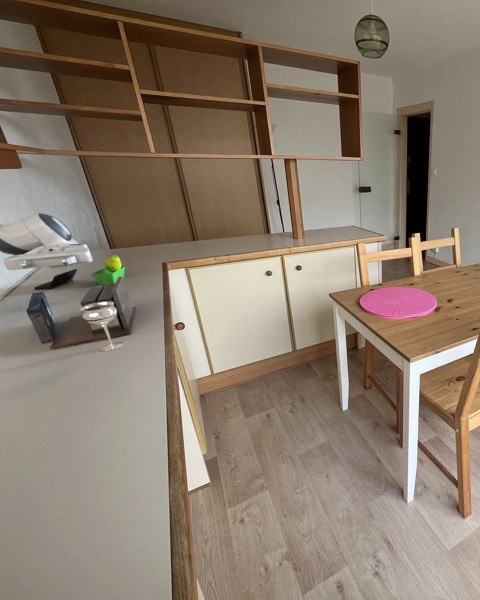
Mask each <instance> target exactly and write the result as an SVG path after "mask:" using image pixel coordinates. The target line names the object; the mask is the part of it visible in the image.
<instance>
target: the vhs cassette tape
mask: <svg viewBox="0 0 480 600" xmlns="http://www.w3.org/2000/svg"><path fill="white" fill-rule="evenodd" d="M26 314H27V316H28V318H29V320H30V322H31V324H32V327H33V328H34V331H35V333H36V335H37V337H38V339H39V341H40V344H46V343H50V342H54V341H55V335H56V328H57V327H56V326H57V318H56V317H55V314H54V313H53V310H52V308H51V306H50V303H49V301H48V299H47V295H46V294H45V292H44V291H38V292H33V293H32V294H31V296H30V299H29V301H28V307H27V309H26Z"/></svg>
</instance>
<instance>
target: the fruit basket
mask: <svg viewBox="0 0 480 600" xmlns="http://www.w3.org/2000/svg"><path fill="white" fill-rule="evenodd" d="M103 266H104V267H103V268H101V269H98V270H97V271H95V272H93V273H91V276H92V277H93V278H94V279H95V281H96V282H97V283H98V285H104V286H106V284H114V283H116V281H117V279H118V277H121V276H122V277H123V279H125V269H126V267H125V266H122V262H121V258H120V257H119V256H118V255H116V254H115V255H113V254H112V255H111V256H110V257H109V258H108V259H106V260H105V261H104V263H103Z"/></svg>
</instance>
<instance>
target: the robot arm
mask: <svg viewBox="0 0 480 600" xmlns="http://www.w3.org/2000/svg"><path fill="white" fill-rule="evenodd" d="M36 249H37V251H36V252H33V253H30V252H31V251H33V250H36ZM0 252H1V253H3V254H6V255H10V256H8V257H5V258H3V259H2V260H3V264H4V266H5V268H6V269H7V270H9V271H16V270H27V269H35V268H36V269H37V268H45V267H48V268H51V269H64V268H67V267H71V266H74V265H80V264H87V263H93V261H94V258H93V255H92V253H91V251H90V248H89V247H88V245H87V244H86V243H79V242H78V241H77V240H76V239H74V238H73V236H72V232H71V231H70V229H69V228H68V227H67V226H66V225H65V223H64V222H62V221H61V220H60V219H58V218H57V217H55V216H52V215H50V214H48V213H47V214H46V213H41V212H39V213H37V214H33V215H30V216H28V217H24V218H23V219H20V220H17V221H14V222H12V223H8V224H1V223H0Z"/></svg>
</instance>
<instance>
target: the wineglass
mask: <svg viewBox="0 0 480 600" xmlns="http://www.w3.org/2000/svg"><path fill="white" fill-rule="evenodd" d="M79 311H80V312H82V314H81V316H82V317H83V319H84V320H85V321H86V322H87V323H90V324H92V325H100V326H103V328H104V331H105V333H106V335H107V337H108V339H107V340H108V342H109V343H107V344H105V345H103V346H101V347H102V348H101V347H100V348H101V350H102V351H101V350H100V351H101V352H109V351H114V350H117V349H120V348H121V347H123V346H124V345H125V343H124V342H123V341H116V342H112V338H110V335H109V332H108V328H107V325H108V323H110V322H112V321H113V320H114V319H115V317H116V316H117V309H116V308H115V307H114V302H110V301H106V302H97V303H93V304H89V305H86V306H83V307H82V306H81V307H80V308H79Z"/></svg>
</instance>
